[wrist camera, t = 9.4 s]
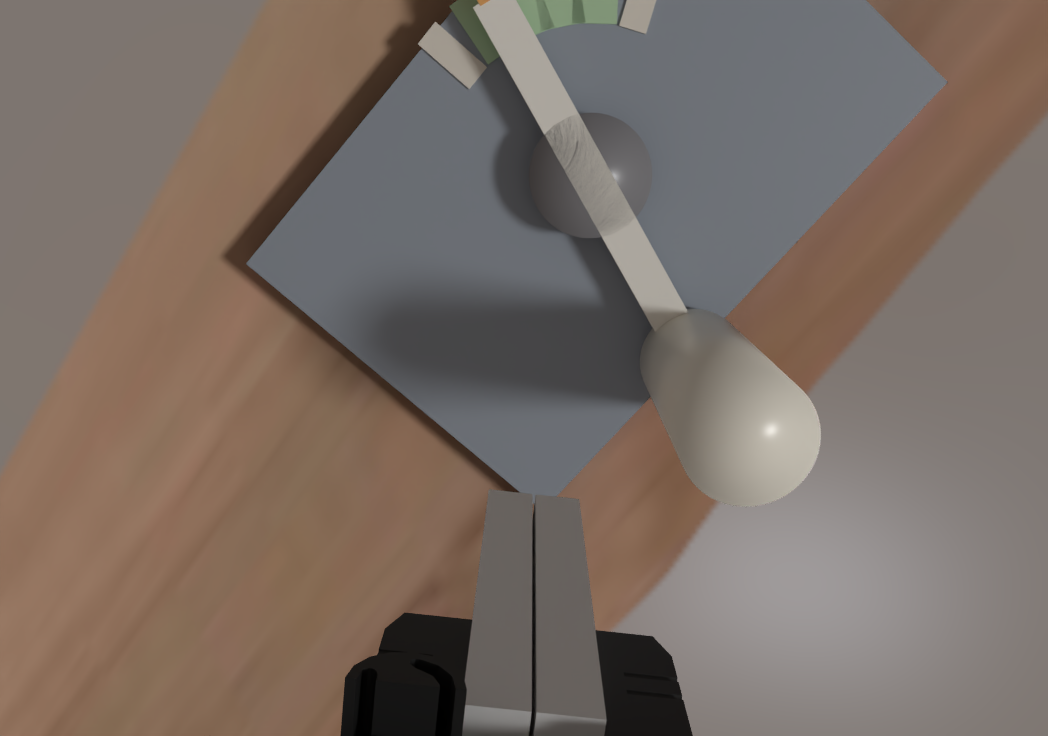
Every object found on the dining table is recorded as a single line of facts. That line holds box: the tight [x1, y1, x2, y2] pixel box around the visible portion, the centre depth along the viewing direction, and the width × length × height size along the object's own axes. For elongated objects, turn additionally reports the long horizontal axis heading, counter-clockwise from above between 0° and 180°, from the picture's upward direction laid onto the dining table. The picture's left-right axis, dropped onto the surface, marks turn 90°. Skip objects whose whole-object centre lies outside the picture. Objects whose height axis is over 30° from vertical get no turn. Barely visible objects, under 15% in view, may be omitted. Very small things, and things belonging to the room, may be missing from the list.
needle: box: [473, 0, 821, 507], centre depth 31 cm, size 19×4×10 cm, turn 30°
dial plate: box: [246, 0, 947, 504], centre depth 37 cm, size 22×15×1 cm
